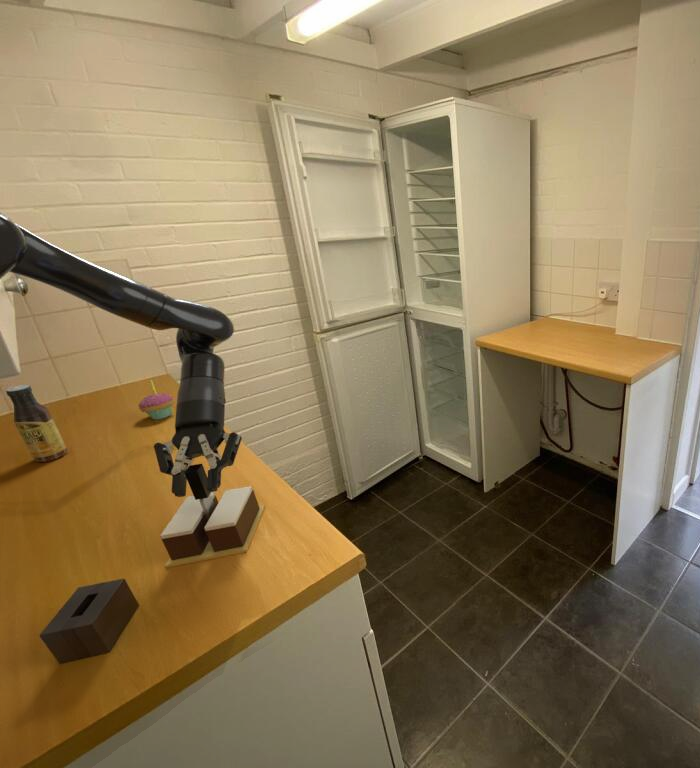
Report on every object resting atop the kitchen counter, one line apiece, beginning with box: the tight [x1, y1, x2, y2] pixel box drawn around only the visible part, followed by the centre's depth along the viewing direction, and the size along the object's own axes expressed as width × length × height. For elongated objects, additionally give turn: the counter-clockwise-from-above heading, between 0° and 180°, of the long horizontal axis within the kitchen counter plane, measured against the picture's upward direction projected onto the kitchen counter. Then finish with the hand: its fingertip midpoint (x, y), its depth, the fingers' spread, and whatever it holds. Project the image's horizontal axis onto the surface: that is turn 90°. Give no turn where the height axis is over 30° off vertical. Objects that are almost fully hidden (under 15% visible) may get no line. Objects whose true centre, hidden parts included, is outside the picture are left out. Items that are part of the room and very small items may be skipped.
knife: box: [184, 463, 216, 521], centre depth 78 cm, size 3×2×15 cm, turn 15°
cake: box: [160, 485, 266, 569], centre depth 80 cm, size 13×13×6 cm
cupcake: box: [138, 377, 175, 420], centre depth 127 cm, size 9×8×12 cm
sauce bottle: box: [5, 384, 68, 463], centre depth 105 cm, size 6×6×20 cm
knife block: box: [38, 578, 140, 665], centre depth 62 cm, size 8×6×6 cm
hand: (196, 493), depth 75 cm, fingers open, 4 cm apart
